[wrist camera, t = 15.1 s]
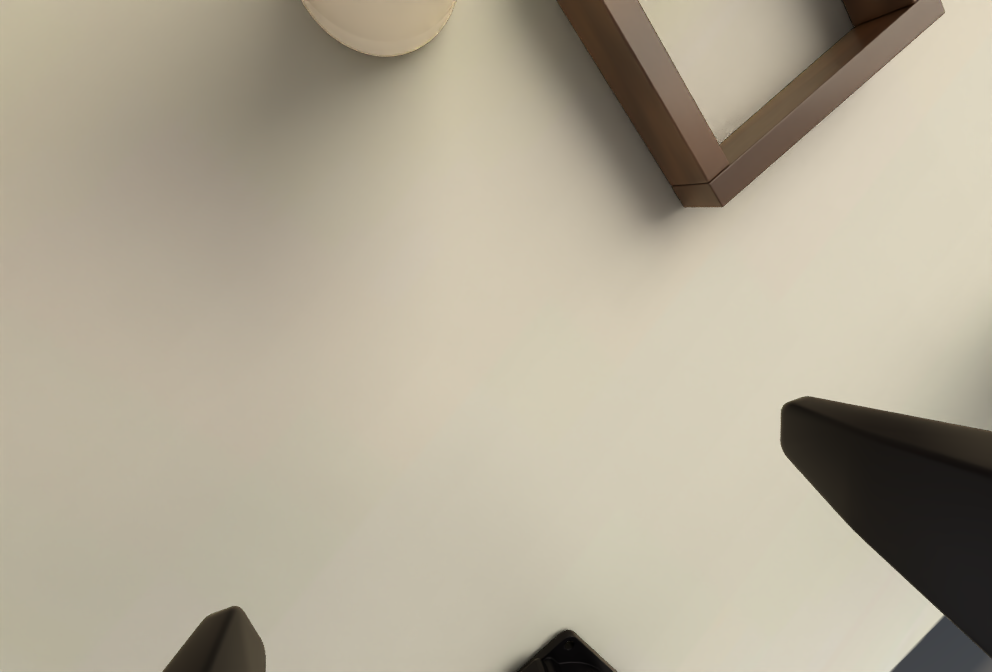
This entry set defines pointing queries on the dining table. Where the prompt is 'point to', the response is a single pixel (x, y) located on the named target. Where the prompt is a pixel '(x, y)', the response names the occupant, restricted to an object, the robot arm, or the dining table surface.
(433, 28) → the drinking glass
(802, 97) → the holder
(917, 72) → the dining table surface
